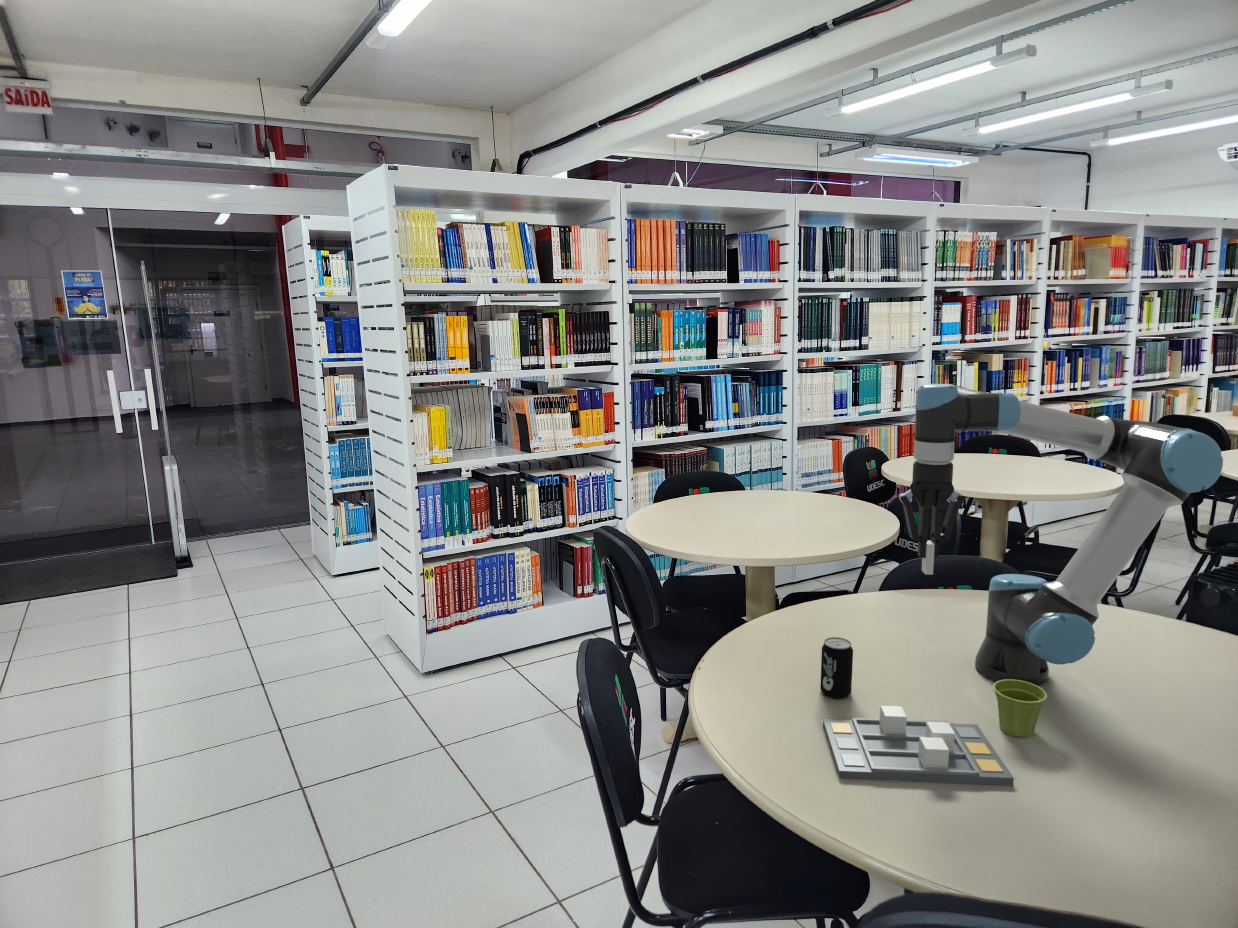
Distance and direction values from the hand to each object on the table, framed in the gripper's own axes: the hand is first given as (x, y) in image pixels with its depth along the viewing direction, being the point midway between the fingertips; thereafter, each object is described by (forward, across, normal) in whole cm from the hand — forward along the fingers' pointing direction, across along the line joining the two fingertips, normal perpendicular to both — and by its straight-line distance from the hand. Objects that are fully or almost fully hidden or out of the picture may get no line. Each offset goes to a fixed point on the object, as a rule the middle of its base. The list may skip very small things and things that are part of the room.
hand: (927, 572), depth 159 cm
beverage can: (+29, +17, -3) cm, 34 cm away
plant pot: (+30, -15, +11) cm, 35 cm away
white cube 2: (+28, +3, +20) cm, 34 cm away
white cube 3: (+27, +6, +26) cm, 38 cm away
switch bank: (+29, +8, +20) cm, 36 cm away
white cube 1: (+27, +10, +15) cm, 33 cm away
